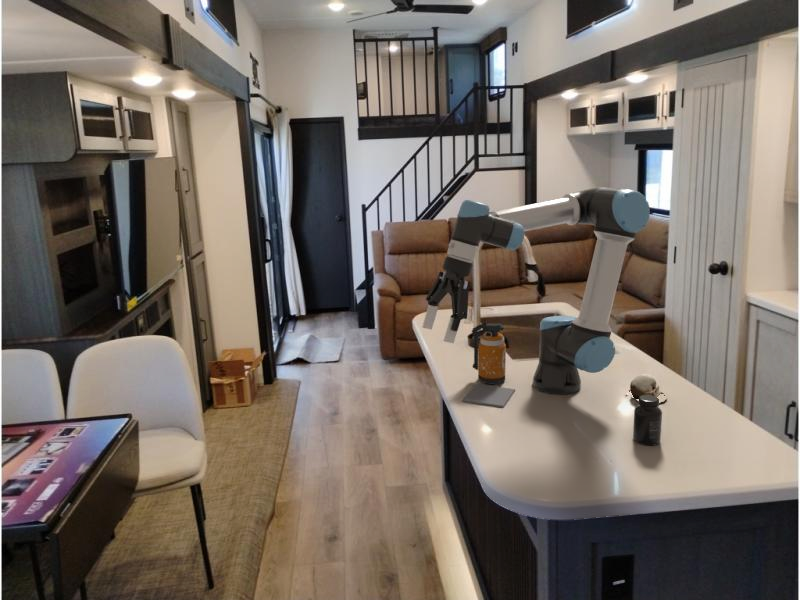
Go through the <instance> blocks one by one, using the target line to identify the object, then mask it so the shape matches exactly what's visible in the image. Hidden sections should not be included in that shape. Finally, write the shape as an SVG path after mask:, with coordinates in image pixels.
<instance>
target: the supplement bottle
mask: <svg viewBox="0 0 800 600" xmlns="http://www.w3.org/2000/svg"><path fill="white" fill-rule="evenodd" d="M659 405H660V404H659V399H658V398H657V397H655V396H652V395H642V396H640V397H639V402H638V405H637V406H636V407H635V408H634V411H633V413H634V414H633V428H632V430H633V431H632V434H633V435H632V439H633V440H634V441H635V442H636V443H637V442H638V444H640V445H643V444H644V446H655V445H654V444H656V445H659V443H660V442H661V435H662V421H663V420H662V418H663V411H662V410H661V408H660V407H659Z"/></svg>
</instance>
